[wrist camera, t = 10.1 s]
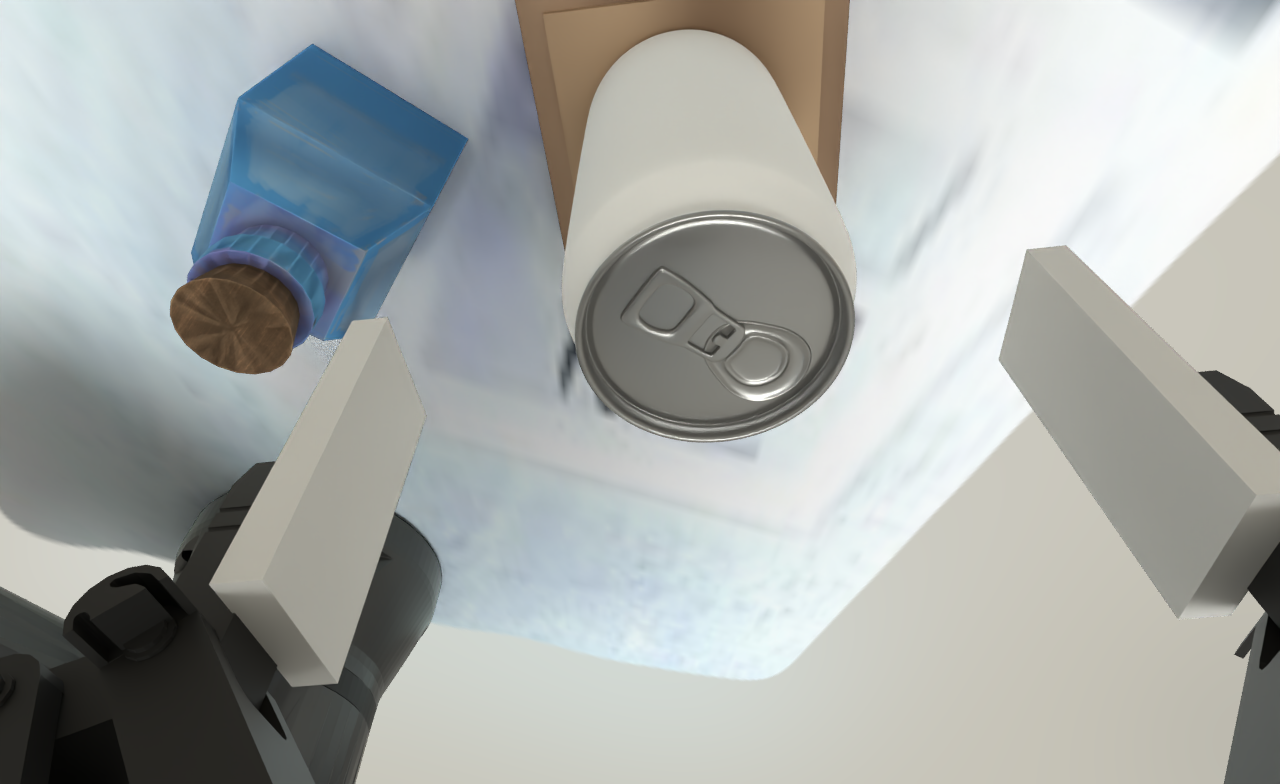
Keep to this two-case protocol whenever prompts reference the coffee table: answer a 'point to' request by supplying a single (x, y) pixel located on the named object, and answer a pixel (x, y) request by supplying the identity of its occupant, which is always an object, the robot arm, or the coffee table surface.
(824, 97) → the plinth
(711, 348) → the can
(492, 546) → the coffee table surface
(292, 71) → the perfume bottle
